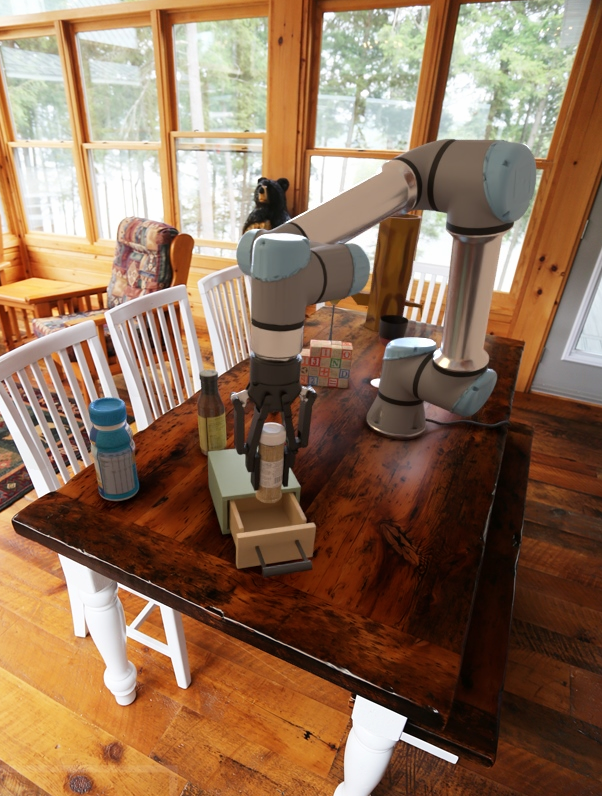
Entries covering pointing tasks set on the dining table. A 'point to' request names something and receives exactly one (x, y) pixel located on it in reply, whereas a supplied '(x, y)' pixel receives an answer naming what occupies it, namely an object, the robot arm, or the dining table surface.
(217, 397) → the sauce bottle
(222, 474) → the cabinet
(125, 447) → the beverage bottle
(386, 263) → the decorative log
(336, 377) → the stack of blocks
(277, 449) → the spice jar
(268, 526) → the drawer
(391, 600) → the dining table surface
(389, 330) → the wineglass
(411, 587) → the dining table surface
